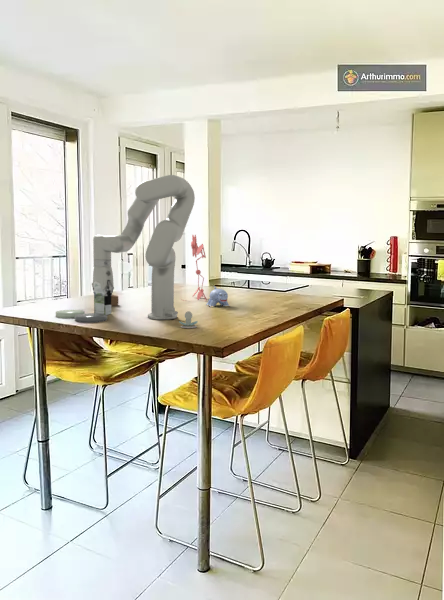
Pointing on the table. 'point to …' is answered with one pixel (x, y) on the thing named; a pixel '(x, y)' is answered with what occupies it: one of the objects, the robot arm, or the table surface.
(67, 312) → the disc
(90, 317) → the disc
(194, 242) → the pink articulated figure
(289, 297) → the table surface
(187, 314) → the pacifier
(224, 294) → the hippopotamus toy
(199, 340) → the table surface
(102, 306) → the syrup box
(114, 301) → the wooden block
